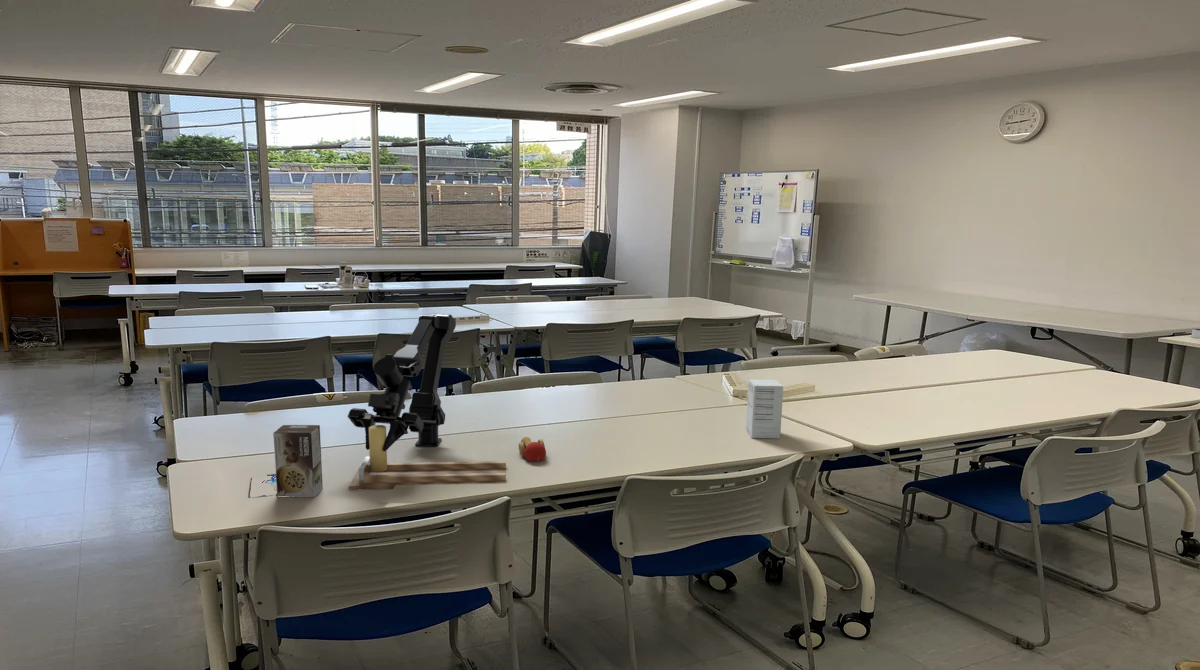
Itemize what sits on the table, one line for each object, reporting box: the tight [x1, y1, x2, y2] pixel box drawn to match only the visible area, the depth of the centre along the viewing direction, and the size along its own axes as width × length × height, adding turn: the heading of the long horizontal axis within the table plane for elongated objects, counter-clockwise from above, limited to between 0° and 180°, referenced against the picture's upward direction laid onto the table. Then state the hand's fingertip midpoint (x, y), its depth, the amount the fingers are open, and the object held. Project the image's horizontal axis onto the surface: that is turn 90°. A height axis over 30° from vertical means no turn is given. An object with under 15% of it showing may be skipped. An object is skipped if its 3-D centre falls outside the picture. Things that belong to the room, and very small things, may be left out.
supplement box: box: [745, 379, 784, 440], centre depth 237 cm, size 10×9×17 cm
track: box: [348, 460, 507, 491], centre depth 193 cm, size 38×14×2 cm, turn 97°
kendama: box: [518, 436, 547, 463], centre depth 212 cm, size 8×6×18 cm
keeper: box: [368, 424, 388, 472], centre depth 190 cm, size 4×4×11 cm
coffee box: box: [272, 424, 324, 498], centre depth 180 cm, size 9×6×16 cm
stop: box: [358, 455, 370, 483], centre depth 191 cm, size 1×10×4 cm, turn 7°
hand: (375, 449), depth 189 cm, fingers closed on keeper, 4 cm apart
